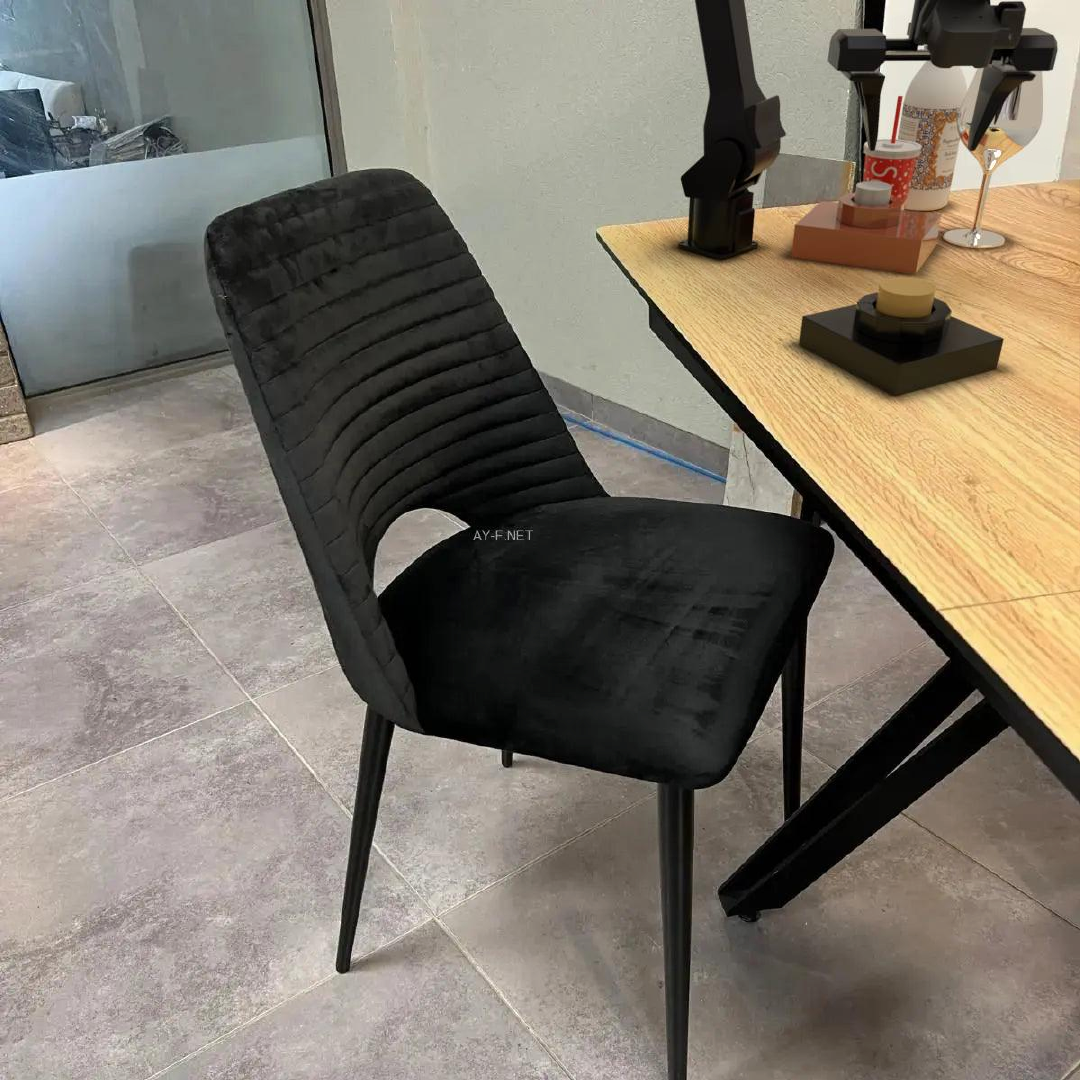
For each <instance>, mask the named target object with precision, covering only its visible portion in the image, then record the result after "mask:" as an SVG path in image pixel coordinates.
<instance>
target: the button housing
mask: <svg viewBox="0 0 1080 1080" xmlns="http://www.w3.org/2000/svg"><path fill="white" fill-rule="evenodd" d="M854 196H855V192H849V193H846V194H843V195H841V197H839V198H838V202H835V201H826V200H821V201H820V202H818V204H816V206H814V207H813V208H812V209H811V210H810V211H809V212H808V213H807V214H805V215H804V216H803V217H802V218H801V219H799V221H798V222H796V223H795V224H794V229H793V238H792V248H791V254H790V255H791V256H790V257H791V258H795V259H801V260H802V259H803V260H809V261H817V262H824V263H831V264H838V265H845V266H852V267H860V268H868V269H874V270H883V271H889V272H897V273H903V274H912V275H916V274H917V273H918V272H919V271H920V269H921V268H922V266H923V264H924V263H925V262H926V260H928V258H929V256H930V255H931V254H932V252H933V250H934V249H935V248H936V246H937V241H938V237H939V230H940V226H941V220H942V214H941V213H933V212H926V211H914V210H907V209H904V205H905V201H904V200H902V199H901V198H900V197H897V196H894V195H891V196H890V202H889V204H888V205H884V206H868V205H860V204H857V203H854Z"/></svg>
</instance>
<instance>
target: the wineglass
mask: <svg viewBox="0 0 1080 1080" xmlns="http://www.w3.org/2000/svg"><path fill="white" fill-rule="evenodd" d="M992 62H993V61H990V63H989V64H992ZM1031 72H1032V73H1034V74H1036V77H1035V78H1034V80H1033V81H1025V82H1023V83H1021V84H1020V85H1019V86H1018V87H1017V88H1016V89H1015V90H1013V91H1012V92H1011V93H1010V95H1009V96H1008V97H1007V99H1006V100H1005V101H1004V103H1003V104H1002V106H1001V107H1000V109H999V110H998V112H997V114H996V115H995V117H994V119H993V120H992V122H991V124H990V126H989V127H988V129H987V131H986V132H985V134H984V136H983V138H982V139H981V141H980V143H979V144H978V146H977V148H976V150H975V151H970V150H968V139H969V131H970V126H971V122H972V117H973V113H974V108H975V104H976V99H977V95H978V91H979V86H980V82H981V77H982V73H983V68H976V70H975V73H974V75H973V77H972V79H971V82H970V83H969V86H968V87H967V93H966V95H965V97H964V100H963V102H962V104H961V107H960V110H959V113H958V117H957V131H958V134H959V137H960V142H962V144H963V146H964V147H965V148H966V150H968V152H969V153H970V154H971V155H972V156H973V158H974V159H975V160H976V161H977V163H978V164H979V165H980V168H981V170H982V178H981V179H982V180H981V185H980V189H979V194H978V200H977V204H976V208H975V213H974V218H973V222H972V224H971V227H970V228H955V229H951V230H947V231H946V232H944V233H943V236H942V237H943V240H944V241H945V242H947V243H949V244H951V245H954V246H959V247H962V248H969V249H994V248H997V247H1000V246H1002V245H1004V244H1005V241H1006V239H1005V237H1004V236H1003V235H1001V234H999V233H996V232H994V231H989V230H984V229H982V223H983V217H984V211H985V207H986V202H987V197H988V192H989V187H990V183H991V179H992V175H993V173H994V172H995V170H996V169H997V168H999V167H1000V166H1001V165H1002V164H1003V163H1005V162H1006V161H1007V160H1009V159H1010V158H1012V157H1013V156H1015V155H1016V154H1018V153H1019V152H1020V151H1022V150H1023V149H1024V148H1026V147H1027V146H1028V145H1029V144H1030V143H1031V142H1032V141H1033V140H1034V139H1035V137H1036V135H1037V134H1038V133H1039V131H1040V128H1041V126H1042V122H1043V118H1044V117H1043V115H1044V82H1043V80H1044V79H1043V71H1031Z"/></svg>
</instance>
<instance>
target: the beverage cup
mask: <svg viewBox="0 0 1080 1080" xmlns="http://www.w3.org/2000/svg"><path fill="white" fill-rule="evenodd" d="M903 97H904V96H902V95H898V96H897V100H896V108H895V114H894V118H893V119H894V120H893V127H892V133H891V138H880V139H879V138H877V143H876V148H875V151H870V150H869V148H868V143H867V141H865V142H864V144H863V152H862V153H863V154H865V155H864V165H863V176H862V182H865V181H878V182H884V183H888V184H890V185H891V186H892V190H891V195H894V196H897V197H900V198H901V199H902V200H904V201H905V205H906V201H907V197H908V192H909V188H910V184H911V179H912V175H913V171H914V167H915V162H916V158H917V156H919V155H920V151H921V145H920V144H918V143H916V142H912V141H907V140H899V139H898V138H897V136H898V135H897V134H898V130H899V123H900V122H899V121H900V117H901V111H902V105H903ZM905 205H904V210H906V209H905Z"/></svg>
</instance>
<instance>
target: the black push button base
mask: <svg viewBox="0 0 1080 1080" xmlns="http://www.w3.org/2000/svg"><path fill="white" fill-rule="evenodd" d="M877 296H878V291H877V292H873V293H869V294H865V295H863V296H862V297H861V298H860V299H859V300H857V302H856V303H854V304H851V305H846V306H842V307H836V308H832V309H828V310H824V311H819V312H814V313H811V314H806V315H802V317H801V323H800V332H799V341H798V345H799V346H800V347H802V348H803V349H805V350H807V351H809V352H811V353H813V354H814V355H816V356H819V357H820V358H822V359H824V360H826V361H827V362H829V363H831V364H833V365H834V366H837V367H838V368H840V369H843V370H844V371H846V372H847V373H850V374H852V375H853V376H855V377H857V378H859V379H860V380H863V381H865V382H866V383H868V384H870V385H872V386H874V387H876V388H878V389H879V390H881V391H883V392H884V393H886V394H888V395H890V396H892V397H898V396H901V395H902V396H903V395H906V394H910V393H913V392H917V391H920V390H924V389H928V388H931V387H935V386H939V385H943V384H946V383H950V382H954V381H957V380H960V379H964V378H968V377H971V376H972V377H973V376H975V375H979V374H984V373H986V372H990V371H994V370H997V369H998V365H999V361H1000V357H1001V352H1002V348H1003V343H1004V340H1005V339H1004V338H1003V337H1001V336H999V335H997V334H995V333H991V332H990V331H987V330H985V329H983V328H980V327H977V326H975V325H973V324H970V323H968V322H965V321H964V320H962V319H959V318H958V317H954V316H952V313H953V312H952V309H951V308H950V306H949V305H948V303H947V302H945V301H943V300H941V299H939V298H936V297H934V300H933V305H932V310H931V315H928V316H923V317H919V318H911V317H897V316H892V315H887V314H884V313H882V312H880V311H878V310H876V302H877Z"/></svg>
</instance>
